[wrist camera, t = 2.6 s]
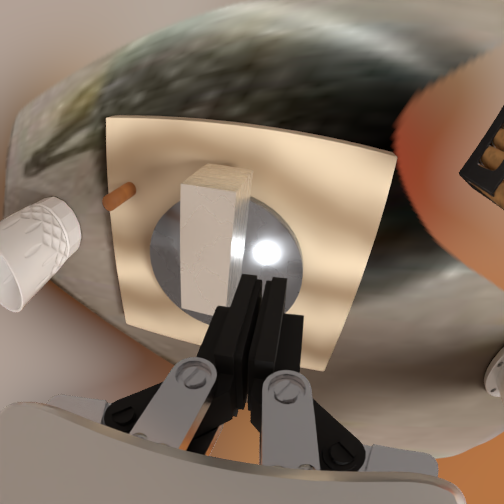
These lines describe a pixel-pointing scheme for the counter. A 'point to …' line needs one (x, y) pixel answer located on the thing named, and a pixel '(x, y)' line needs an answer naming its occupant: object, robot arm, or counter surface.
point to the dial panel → (263, 188)
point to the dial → (221, 243)
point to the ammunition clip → (488, 164)
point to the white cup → (34, 249)
